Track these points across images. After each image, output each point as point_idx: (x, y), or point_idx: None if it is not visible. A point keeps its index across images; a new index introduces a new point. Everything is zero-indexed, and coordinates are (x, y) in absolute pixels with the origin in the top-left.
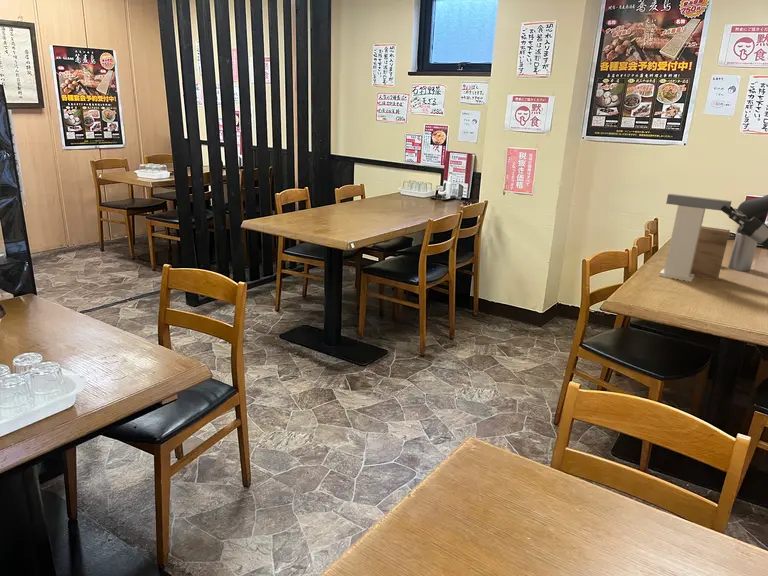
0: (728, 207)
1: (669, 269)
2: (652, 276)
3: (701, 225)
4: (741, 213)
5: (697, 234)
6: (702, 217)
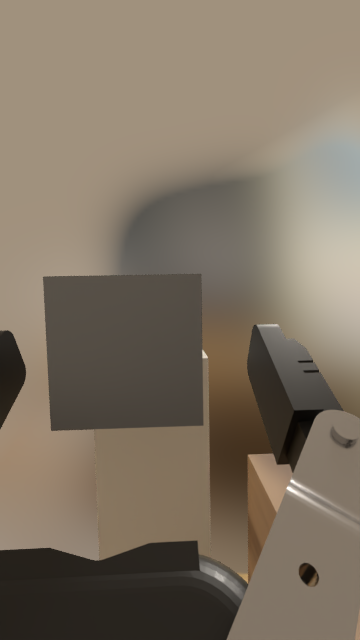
0: (53, 364)
1: None
2: None
3: (200, 495)
4: (222, 637)
5: (99, 547)
6: (131, 429)
